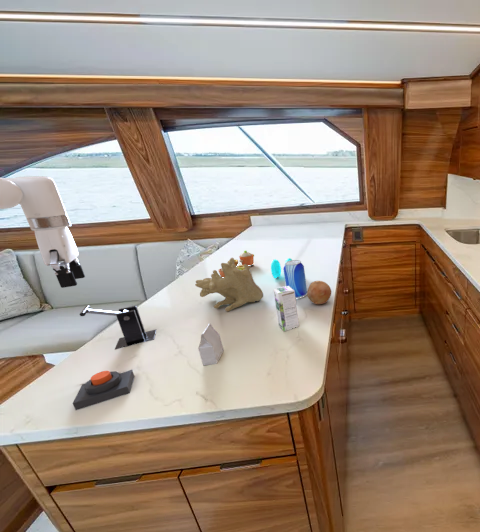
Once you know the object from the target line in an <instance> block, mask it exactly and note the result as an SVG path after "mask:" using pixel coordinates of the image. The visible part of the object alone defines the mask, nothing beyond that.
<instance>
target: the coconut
mask: <svg viewBox="0 0 480 532" xmlns="http://www.w3.org/2000/svg"><path fill="white" fill-rule="evenodd" d="M306 295H307V298H308V300H309V301H310V302H311V303H313V304H315V305H323V304H326V303H327V302H328V301H329V300H330V298H331V296H332V289H331V287H330V285H329V284H328V283H327V282H325V281H323V280H314V281H312V282H311V283H310V284H309V286H308V288H307V294H306Z"/></svg>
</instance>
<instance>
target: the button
mask: <svg viewBox="0 0 480 532" xmlns="http://www.w3.org/2000/svg"><path fill="white" fill-rule="evenodd" d="M110 372H111V371H110V370H102V371H99V372H97V373H95V374H93V375H92V376H91V377H90V379H91V381H92V384H93V385H99V384H103V383H105V382H107V381H109V380H110V379H112V376H111V373H110Z"/></svg>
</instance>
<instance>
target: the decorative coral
mask: <svg viewBox="0 0 480 532" xmlns="http://www.w3.org/2000/svg"><path fill="white" fill-rule="evenodd" d="M234 259H235V258H234V257H230V259H229V260H228V261H229V262H228V261H227V262H228V263H227V262H221V263H220V266H221V268H222V270H223V272H224V274H225V277H224V278H222V277H221V276H220V273H219V272H218V271H217V270H216V269H213V270H212V273H211V275H210V277H205V278H203V279H196V280H195V287H197V288H199V289H201V290H200V292H199V297H201V298H204V297H207V296H208V295H210V294H219V295H221V296H222V297H224V299H223V300H219V301H217V302H216V304H214V305H213V309H219V308H220V307H221V306H226V307H225V308H224V311H225V312H227V313H228V312H231V311H232V310H233V309H236V308H240V307H241V306H244V305H245V304H247V303H256V302H255V301H257V302H260V301H261V300H262V299H263V298H264V293H263V290H262V289H261V287H260V286H259V285H257V283H256V282H255V280H254V277H253V274H252V272H251V267H250V266H247V264H244V267H245V269H244V270H239V269H238V268H237V267H236V265H235V261H234ZM226 263H227V264H226Z"/></svg>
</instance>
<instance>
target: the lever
mask: <svg viewBox="0 0 480 532" xmlns="http://www.w3.org/2000/svg"><path fill="white" fill-rule="evenodd" d="M91 307H92V306H90V305H85V306H84V308H83V309H82V310H81V312H80V313H79V316H80V317H85V316H86V315H87V314H93V315H104V316H115V317H117V316H116V314H117V313H122V312H119V311H113V310H103V309H94V308H91ZM127 311H131V310H124V311H123V312H127Z"/></svg>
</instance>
